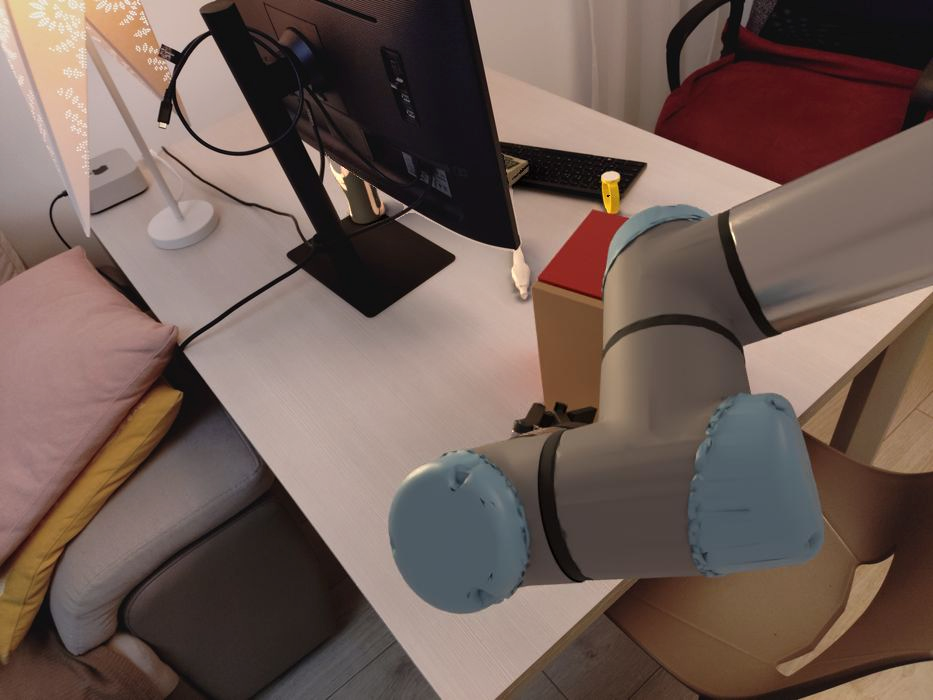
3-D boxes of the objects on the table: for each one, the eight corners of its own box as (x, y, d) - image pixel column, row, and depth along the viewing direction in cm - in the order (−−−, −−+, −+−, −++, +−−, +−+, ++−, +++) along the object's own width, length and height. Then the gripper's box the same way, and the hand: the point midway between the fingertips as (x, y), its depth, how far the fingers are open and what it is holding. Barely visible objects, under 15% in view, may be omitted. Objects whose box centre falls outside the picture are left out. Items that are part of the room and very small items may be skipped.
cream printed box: (530, 170, 110) (528, 153, 108) (502, 194, 107) (499, 177, 104) (463, 150, 119) (460, 134, 116) (434, 172, 115) (431, 156, 113)
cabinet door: (651, 510, 64) (665, 390, 50) (517, 448, 72) (496, 329, 58) (679, 456, 68) (699, 330, 54) (548, 403, 75) (535, 280, 61)
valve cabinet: (679, 455, 68) (700, 327, 54) (549, 402, 76) (536, 277, 61) (718, 379, 74) (746, 245, 60) (594, 337, 82) (592, 208, 67)
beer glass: (354, 230, 107) (326, 151, 96) (344, 210, 111) (316, 132, 100) (392, 216, 108) (368, 136, 97) (380, 197, 112) (356, 118, 101)
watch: (623, 218, 97) (624, 185, 93) (605, 221, 97) (606, 188, 93) (614, 197, 101) (615, 164, 97) (597, 200, 102) (597, 167, 97)
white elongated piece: (534, 300, 88) (533, 290, 87) (515, 303, 88) (514, 293, 87) (523, 236, 98) (522, 226, 97) (506, 238, 98) (505, 228, 97)
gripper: (412, 463, 49) (529, 431, 68) (712, 620, 38) (752, 529, 57) (438, 372, 48) (550, 366, 67) (756, 507, 37) (781, 453, 56)
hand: (643, 441), depth 62 cm, fingers open, 11 cm apart
